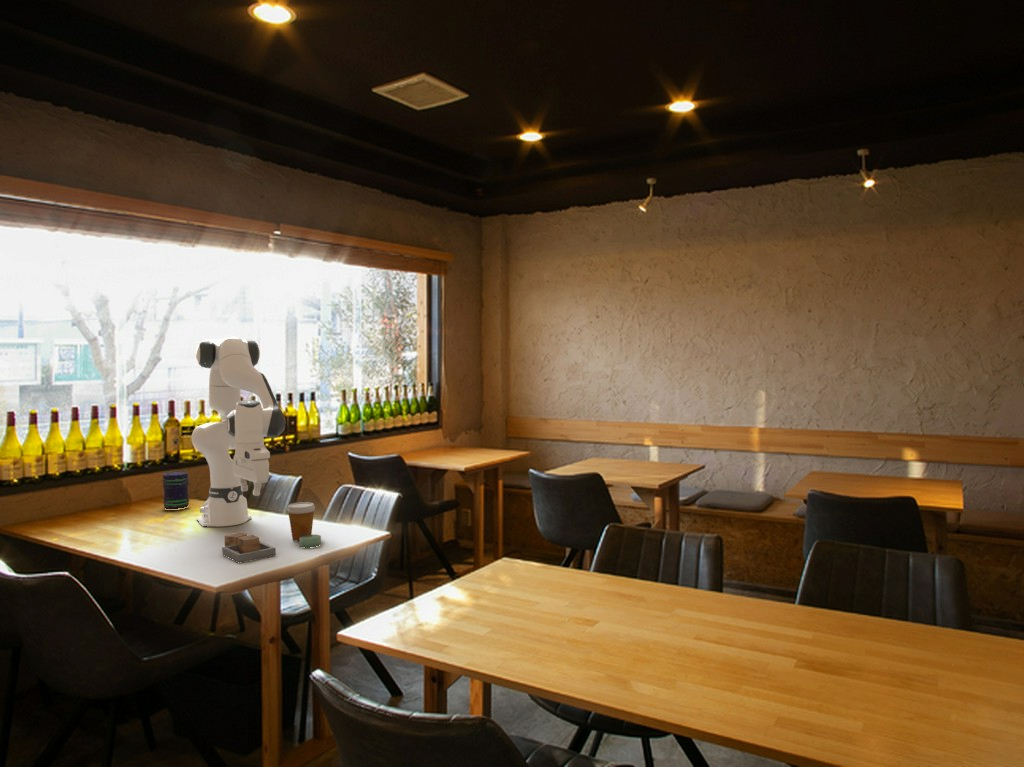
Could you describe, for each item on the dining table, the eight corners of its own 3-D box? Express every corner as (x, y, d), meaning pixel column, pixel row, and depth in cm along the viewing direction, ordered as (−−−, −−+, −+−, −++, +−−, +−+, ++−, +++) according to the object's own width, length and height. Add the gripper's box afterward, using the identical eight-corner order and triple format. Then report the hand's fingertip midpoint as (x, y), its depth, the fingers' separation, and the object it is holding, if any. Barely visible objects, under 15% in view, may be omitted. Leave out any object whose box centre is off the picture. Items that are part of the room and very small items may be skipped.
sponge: (296, 545, 250) (296, 536, 250) (315, 542, 255) (315, 533, 255) (305, 549, 245) (304, 540, 245) (324, 546, 250) (324, 537, 249)
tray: (222, 554, 239) (222, 547, 239) (258, 547, 247) (258, 540, 247) (238, 563, 230) (238, 555, 230) (275, 555, 238) (275, 547, 238)
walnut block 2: (238, 552, 239) (237, 537, 238) (253, 549, 242) (252, 534, 242) (244, 555, 235) (244, 540, 235) (259, 552, 238) (259, 537, 238)
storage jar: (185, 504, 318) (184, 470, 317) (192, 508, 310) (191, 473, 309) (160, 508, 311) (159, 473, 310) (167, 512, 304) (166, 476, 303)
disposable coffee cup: (319, 535, 263) (319, 502, 262) (310, 542, 253) (309, 508, 253) (294, 535, 264) (293, 501, 263) (283, 542, 254) (282, 507, 254)
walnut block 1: (225, 550, 245) (224, 535, 245) (236, 546, 249) (236, 532, 249) (235, 552, 243) (235, 537, 242) (247, 548, 247) (247, 533, 247)
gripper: (227, 448, 245) (228, 489, 245) (253, 455, 229) (253, 499, 230) (246, 446, 249) (246, 487, 250) (272, 453, 234) (273, 496, 234)
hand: (250, 493), depth 240 cm, fingers open, 8 cm apart
